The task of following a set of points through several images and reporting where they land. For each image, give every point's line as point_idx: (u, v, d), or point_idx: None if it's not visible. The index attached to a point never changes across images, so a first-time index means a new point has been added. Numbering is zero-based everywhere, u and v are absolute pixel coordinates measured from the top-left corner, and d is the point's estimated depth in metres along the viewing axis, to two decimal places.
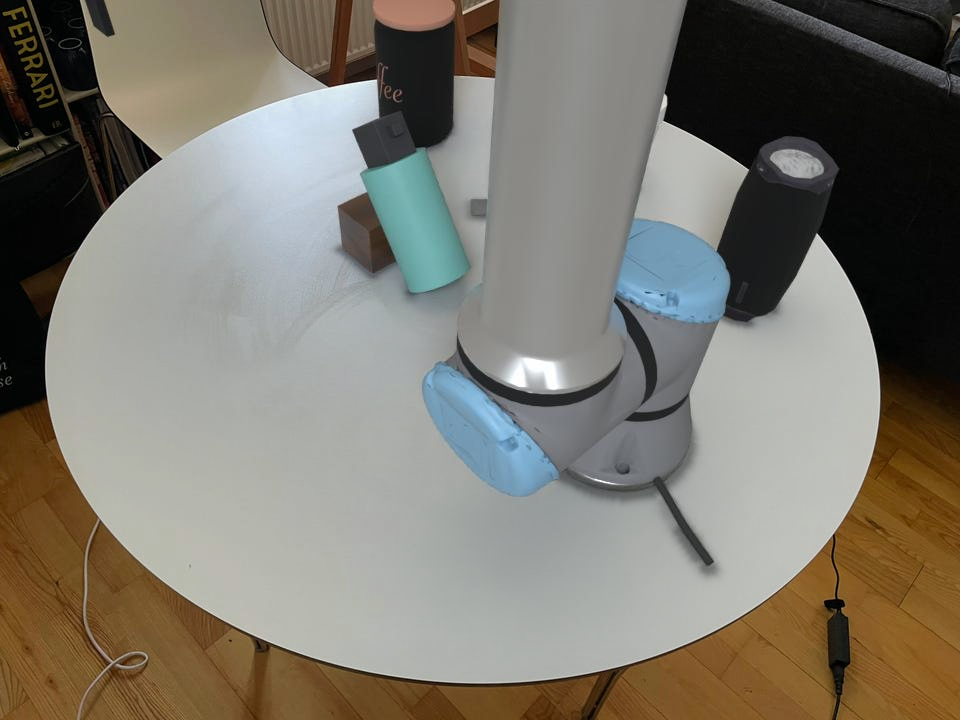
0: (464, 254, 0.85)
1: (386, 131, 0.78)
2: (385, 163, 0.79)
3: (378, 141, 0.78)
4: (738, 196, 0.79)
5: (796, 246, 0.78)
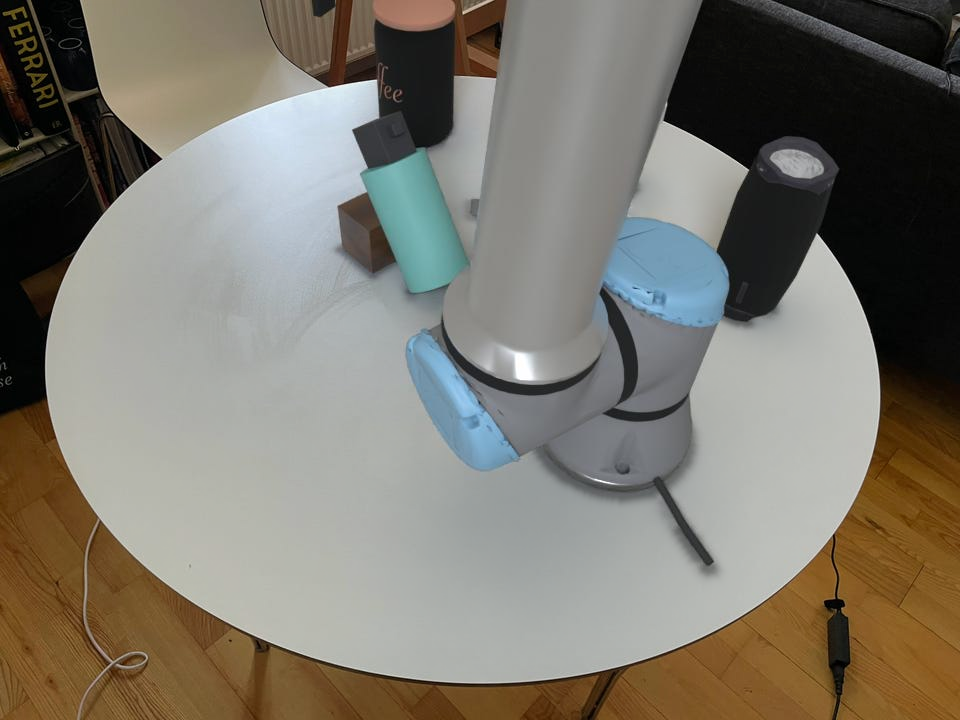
0: (464, 254, 0.85)
1: (386, 131, 0.78)
2: (385, 163, 0.79)
3: (378, 141, 0.78)
4: (738, 196, 0.79)
5: (796, 246, 0.78)
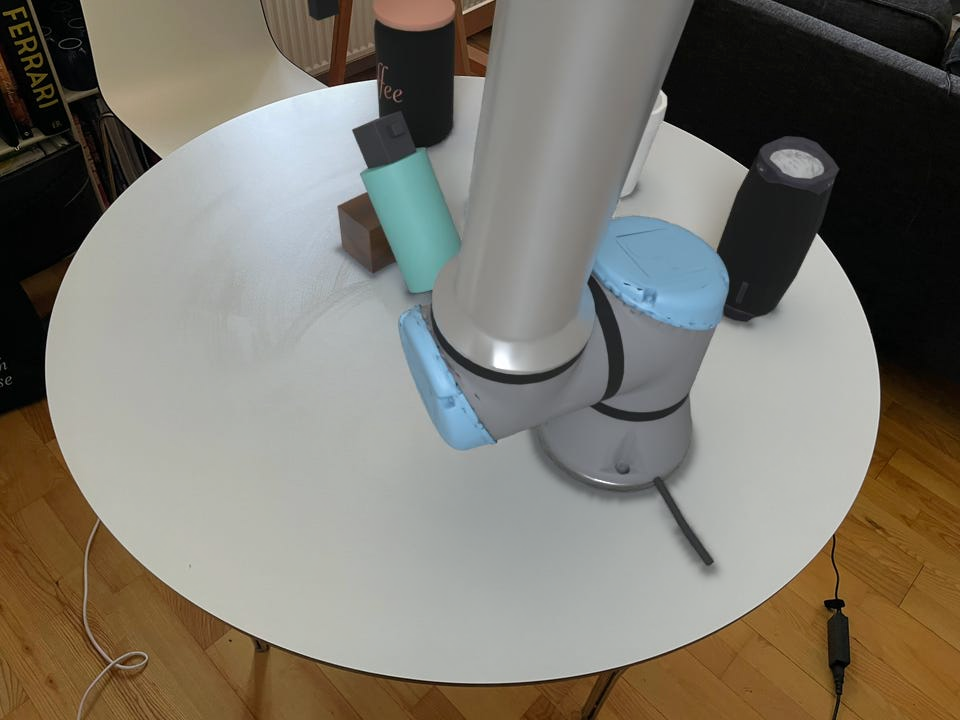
0: None
1: (386, 131, 0.78)
2: (385, 163, 0.79)
3: (378, 141, 0.78)
4: (738, 196, 0.79)
5: (796, 246, 0.78)
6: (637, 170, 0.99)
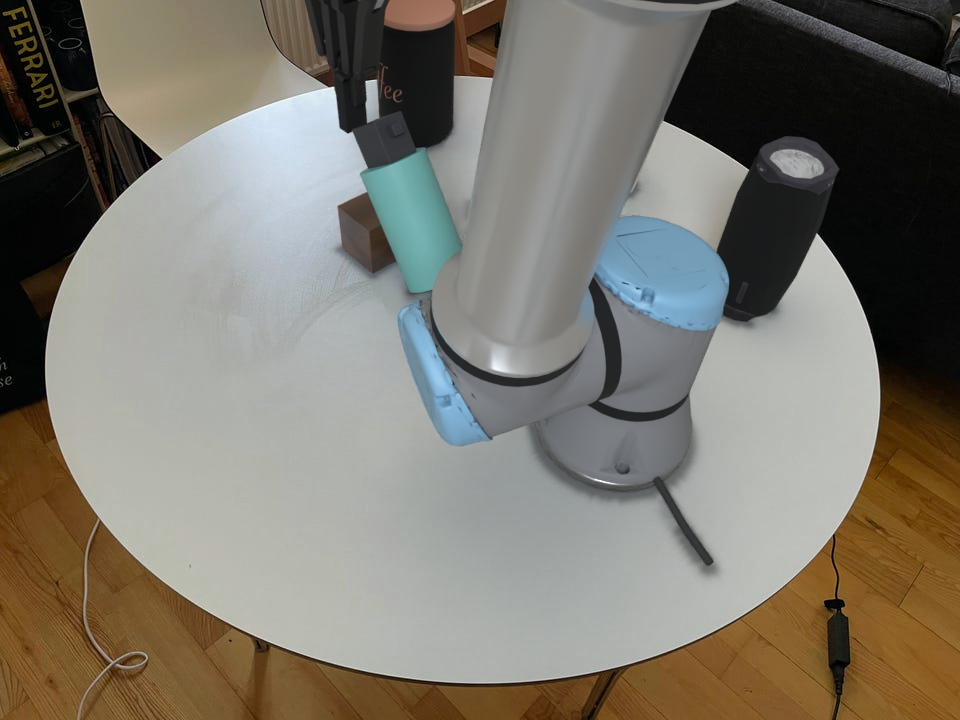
0: None
1: (386, 131, 0.78)
2: (385, 163, 0.79)
3: (378, 141, 0.78)
4: (738, 196, 0.79)
5: (796, 246, 0.78)
6: None
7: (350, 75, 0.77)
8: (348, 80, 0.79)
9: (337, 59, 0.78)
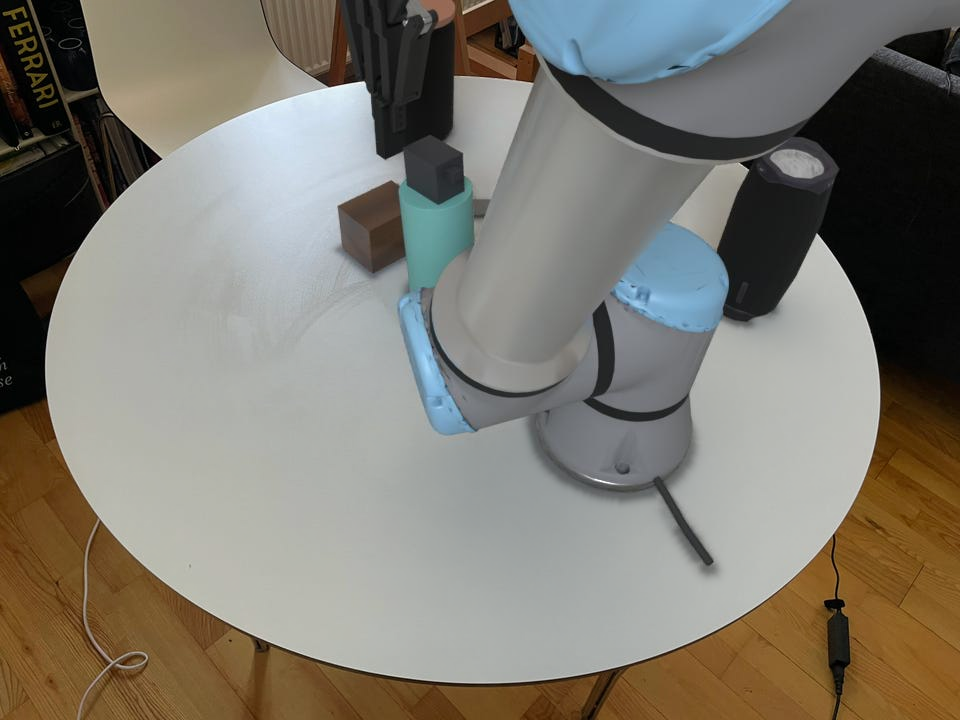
0: None
1: (444, 174, 0.74)
2: (431, 200, 0.76)
3: (433, 181, 0.74)
4: (738, 196, 0.79)
5: (796, 246, 0.78)
6: None
7: (390, 101, 0.74)
8: (388, 105, 0.76)
9: (376, 84, 0.75)
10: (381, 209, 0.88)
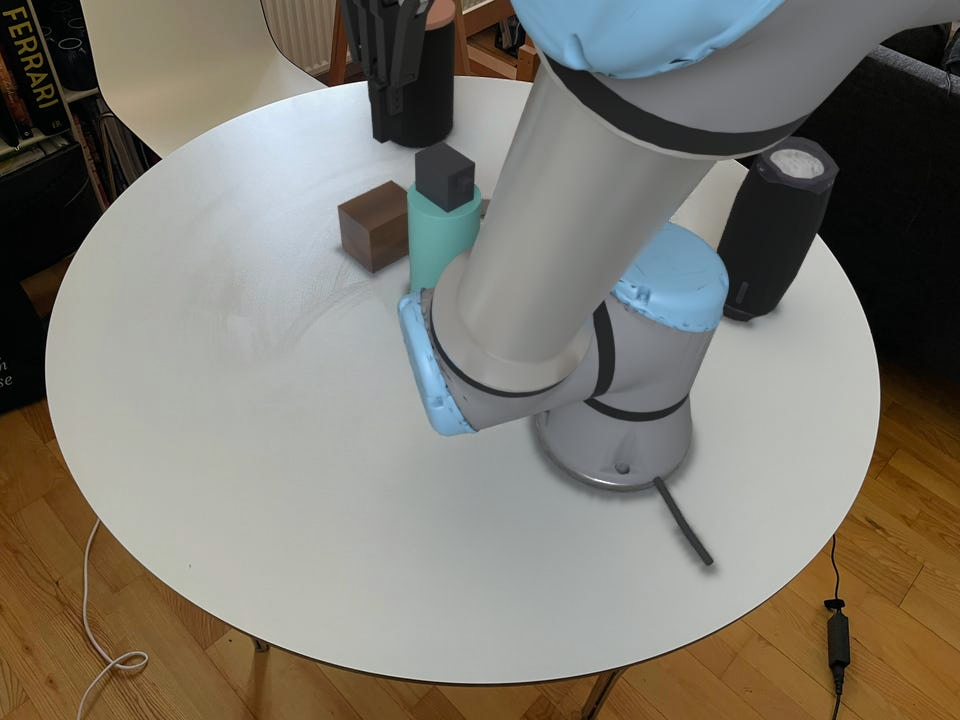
0: None
1: (455, 183, 0.73)
2: (441, 207, 0.76)
3: (444, 190, 0.74)
4: (738, 196, 0.79)
5: (796, 246, 0.78)
6: None
7: (387, 83, 0.73)
8: (384, 88, 0.75)
9: (373, 66, 0.74)
10: (381, 209, 0.88)
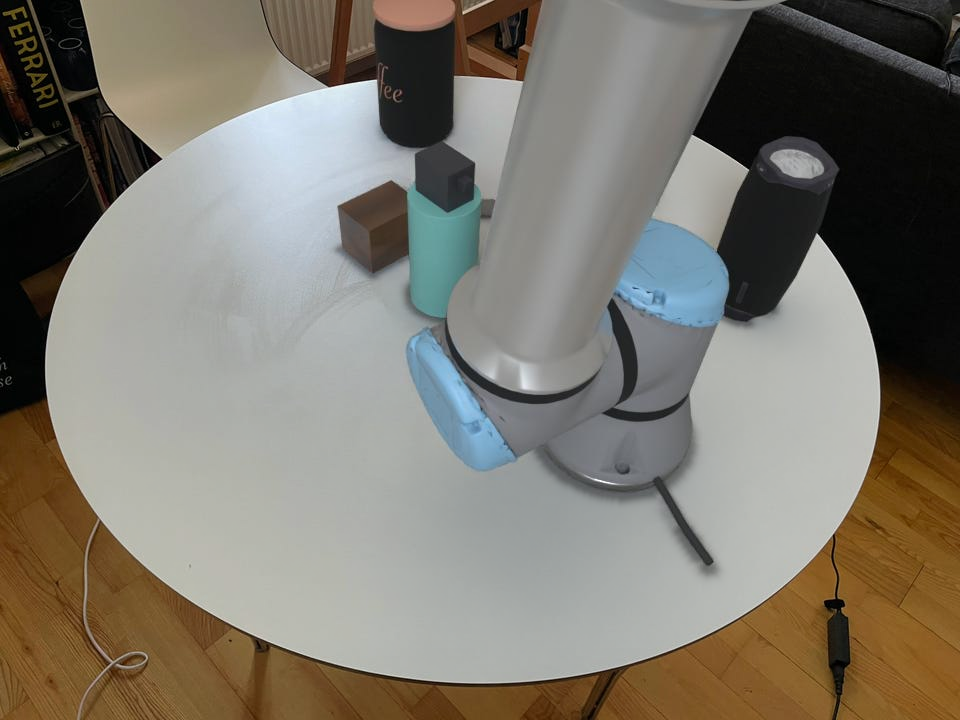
0: None
1: (455, 183, 0.73)
2: (441, 207, 0.76)
3: (444, 190, 0.74)
4: (738, 196, 0.79)
5: (796, 246, 0.78)
6: None
7: None
8: None
9: None
10: (381, 209, 0.88)
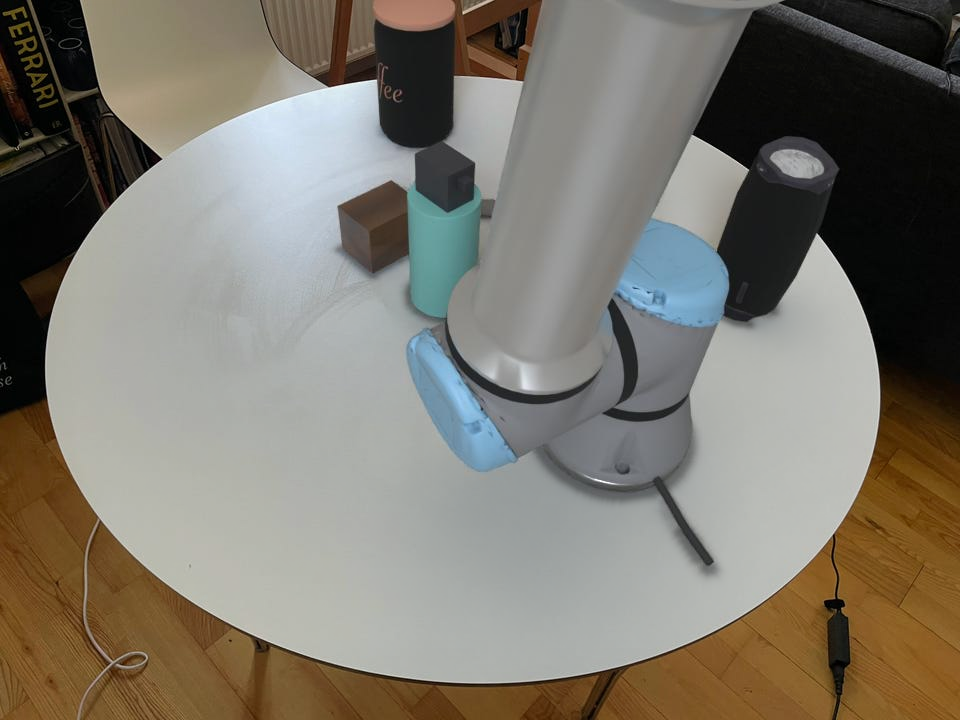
0: None
1: (455, 183, 0.73)
2: (441, 207, 0.76)
3: (444, 190, 0.74)
4: (738, 196, 0.79)
5: (796, 246, 0.78)
6: None
7: None
8: None
9: None
10: (381, 209, 0.88)
